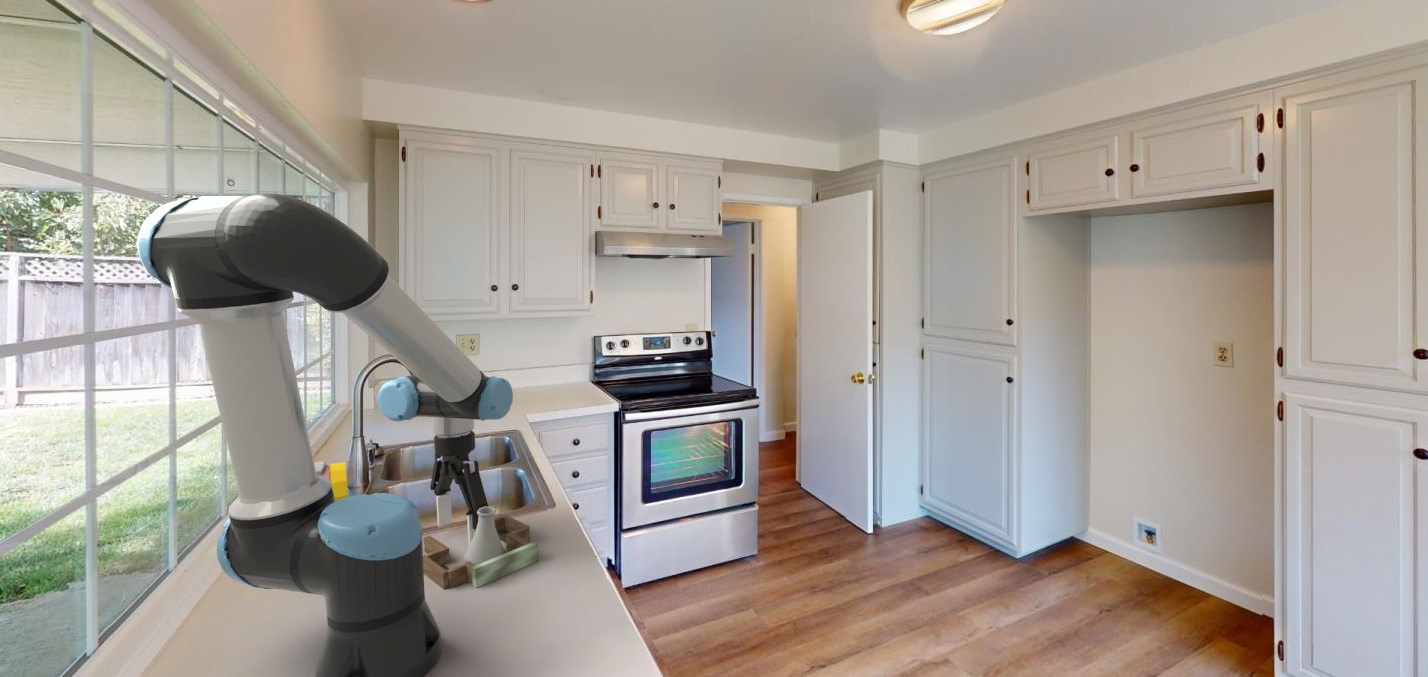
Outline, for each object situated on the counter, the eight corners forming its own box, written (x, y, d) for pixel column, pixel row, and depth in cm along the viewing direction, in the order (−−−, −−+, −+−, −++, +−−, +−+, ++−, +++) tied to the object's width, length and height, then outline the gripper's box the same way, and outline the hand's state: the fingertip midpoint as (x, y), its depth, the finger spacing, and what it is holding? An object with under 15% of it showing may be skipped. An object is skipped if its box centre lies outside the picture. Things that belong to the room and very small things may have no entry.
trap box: (454, 597, 95) (453, 578, 94) (404, 559, 108) (403, 542, 108) (555, 553, 110) (554, 536, 110) (499, 524, 124) (499, 509, 123)
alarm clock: (302, 542, 116) (295, 457, 114) (349, 532, 120) (343, 450, 119) (300, 572, 103) (292, 477, 102) (352, 559, 108) (346, 468, 106)
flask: (512, 552, 110) (514, 506, 108) (488, 572, 103) (490, 523, 102) (480, 544, 112) (482, 498, 110) (455, 563, 105) (457, 514, 103)
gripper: (503, 439, 107) (508, 544, 109) (445, 419, 123) (450, 511, 125) (465, 448, 101) (471, 559, 103) (409, 426, 117) (415, 522, 119)
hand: (460, 533), depth 114 cm, fingers open, 13 cm apart
